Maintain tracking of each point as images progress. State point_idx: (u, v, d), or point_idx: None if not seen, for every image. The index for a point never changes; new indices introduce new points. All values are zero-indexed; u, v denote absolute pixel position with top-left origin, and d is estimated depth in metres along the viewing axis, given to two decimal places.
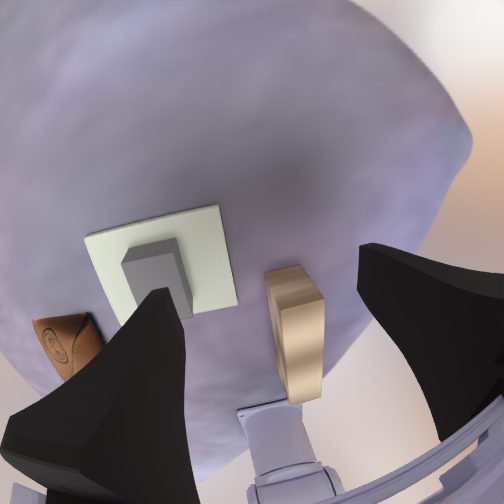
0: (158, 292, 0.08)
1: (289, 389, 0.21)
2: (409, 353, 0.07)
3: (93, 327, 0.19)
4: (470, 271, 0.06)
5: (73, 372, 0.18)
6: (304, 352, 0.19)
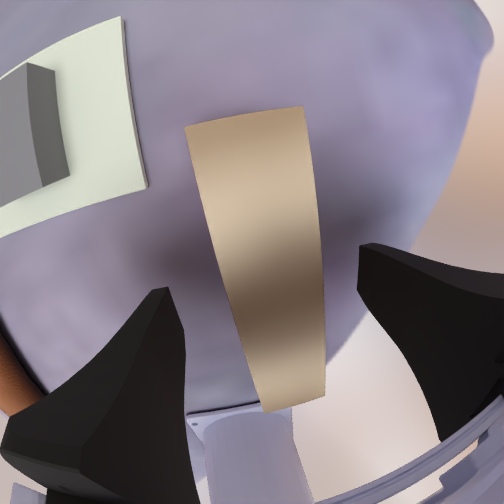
0: (158, 292, 0.08)
1: (254, 379, 0.10)
2: (409, 353, 0.07)
3: None
4: (470, 271, 0.06)
5: None
6: (273, 276, 0.08)
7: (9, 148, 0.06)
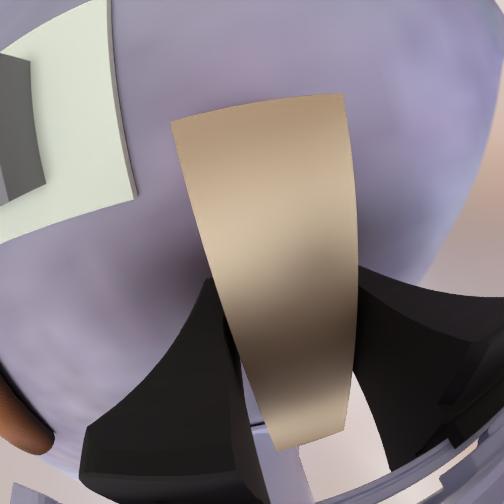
0: None
1: (268, 424, 0.08)
2: (360, 374, 0.07)
3: None
4: (426, 290, 0.06)
5: None
6: (296, 323, 0.06)
7: None
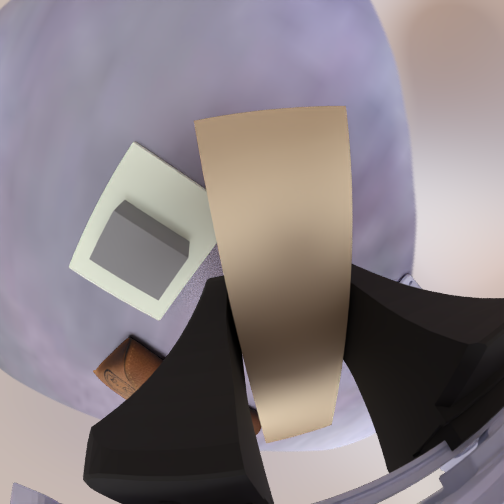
0: (218, 280, 0.09)
1: (260, 413, 0.08)
2: (357, 375, 0.07)
3: (139, 346, 0.20)
4: (424, 291, 0.06)
5: None
6: (292, 311, 0.07)
7: (148, 256, 0.15)
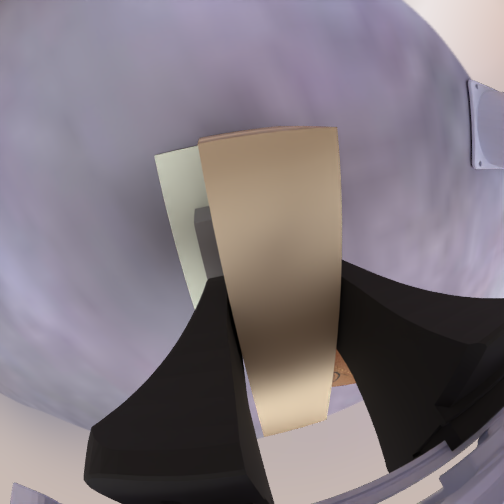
0: (219, 280, 0.09)
1: (258, 407, 0.09)
2: (357, 375, 0.07)
3: None
4: (424, 291, 0.06)
5: (349, 375, 0.18)
6: (287, 313, 0.07)
7: None
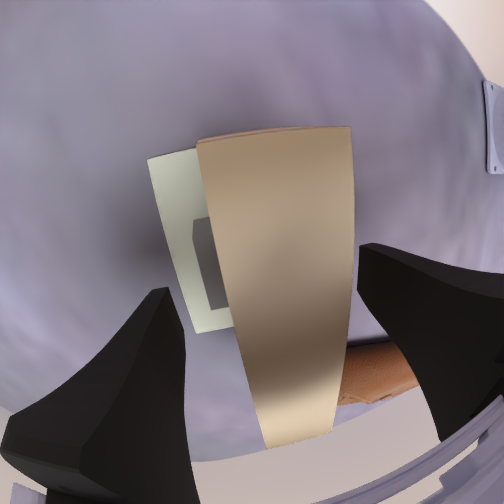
0: (158, 292, 0.08)
1: (261, 422, 0.08)
2: (409, 353, 0.07)
3: None
4: (470, 271, 0.06)
5: (355, 399, 0.17)
6: (294, 329, 0.07)
7: None
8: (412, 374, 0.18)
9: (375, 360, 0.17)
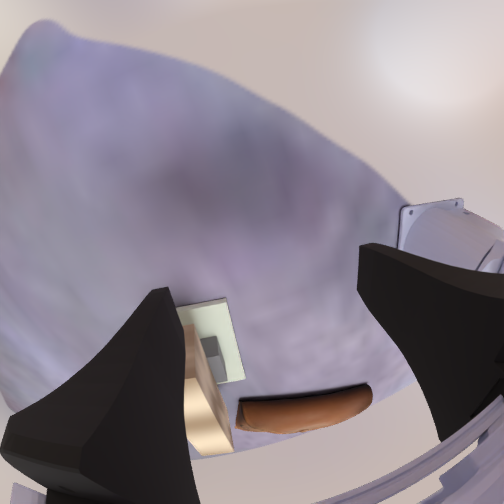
0: (158, 292, 0.08)
1: (193, 444, 0.18)
2: (409, 353, 0.07)
3: (248, 403, 0.27)
4: (470, 271, 0.06)
5: (271, 432, 0.26)
6: (192, 418, 0.16)
7: None
8: (318, 420, 0.28)
9: (286, 410, 0.27)
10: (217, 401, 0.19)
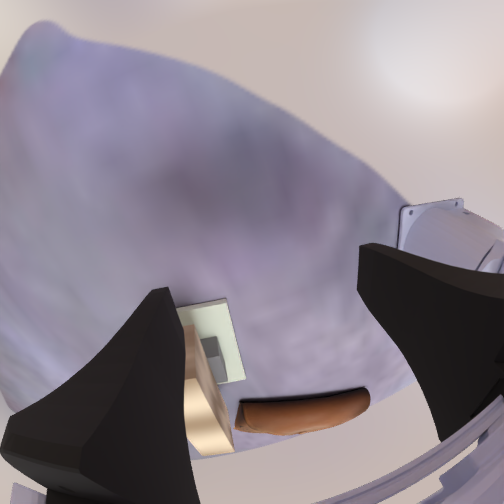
0: (158, 292, 0.08)
1: (193, 444, 0.18)
2: (409, 353, 0.07)
3: (249, 404, 0.27)
4: (470, 271, 0.06)
5: (271, 433, 0.26)
6: (193, 419, 0.16)
7: None
8: (317, 422, 0.28)
9: (286, 412, 0.27)
10: (217, 401, 0.19)
